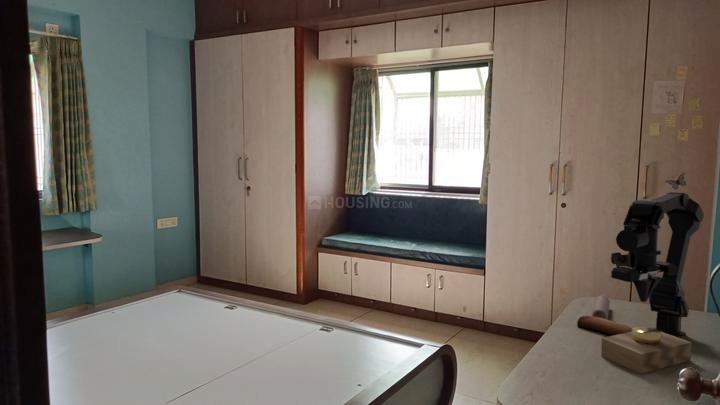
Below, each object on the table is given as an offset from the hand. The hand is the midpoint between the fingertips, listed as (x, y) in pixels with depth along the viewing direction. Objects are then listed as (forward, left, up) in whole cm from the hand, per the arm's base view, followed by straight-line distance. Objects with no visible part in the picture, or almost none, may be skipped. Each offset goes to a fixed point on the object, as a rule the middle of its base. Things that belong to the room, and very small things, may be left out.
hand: (643, 301), depth 140 cm
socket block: (+6, +6, -13) cm, 16 cm away
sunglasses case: (-2, -12, -14) cm, 18 cm away
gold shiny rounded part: (+6, +6, -12) cm, 15 cm away
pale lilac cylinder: (-12, -25, -14) cm, 30 cm away
